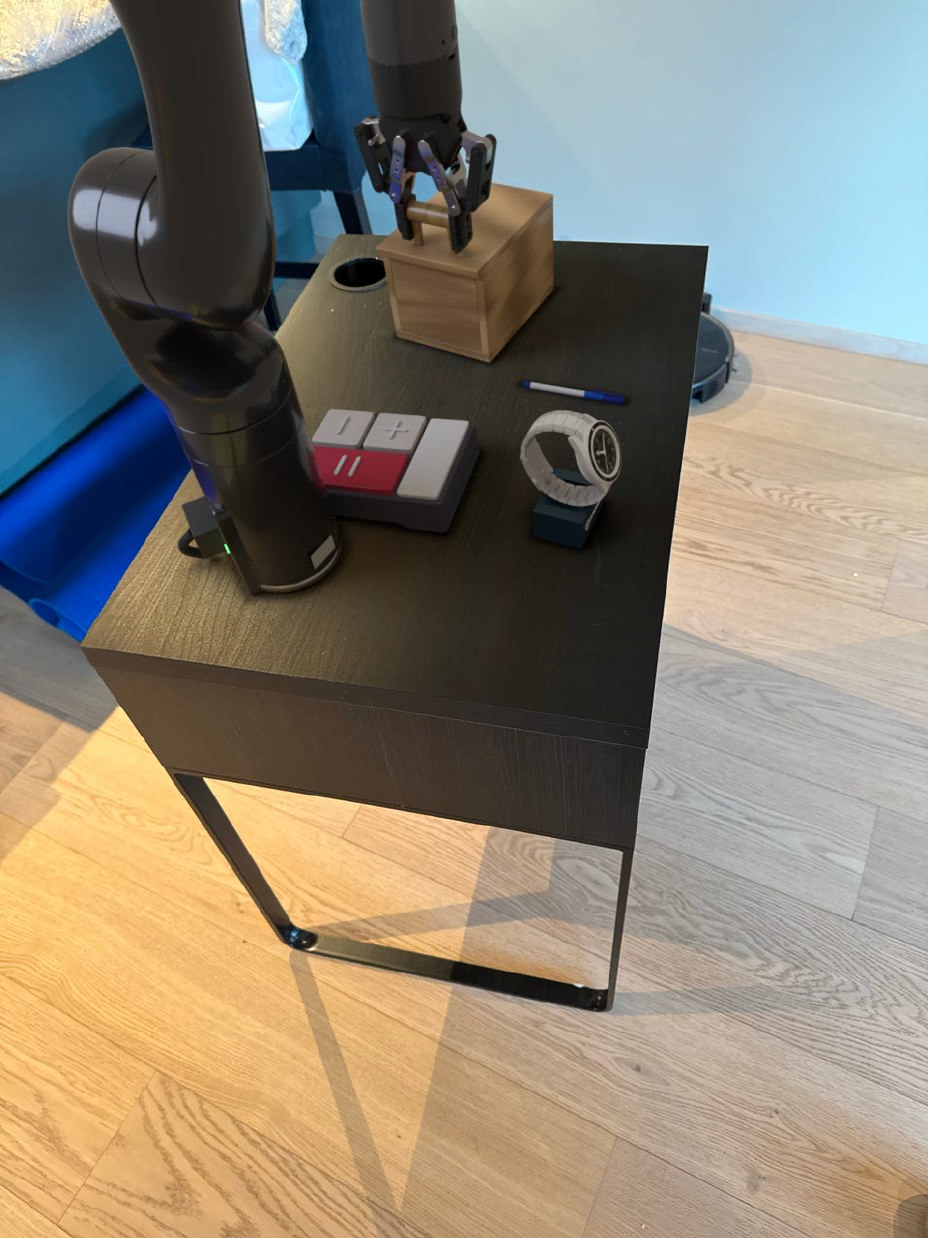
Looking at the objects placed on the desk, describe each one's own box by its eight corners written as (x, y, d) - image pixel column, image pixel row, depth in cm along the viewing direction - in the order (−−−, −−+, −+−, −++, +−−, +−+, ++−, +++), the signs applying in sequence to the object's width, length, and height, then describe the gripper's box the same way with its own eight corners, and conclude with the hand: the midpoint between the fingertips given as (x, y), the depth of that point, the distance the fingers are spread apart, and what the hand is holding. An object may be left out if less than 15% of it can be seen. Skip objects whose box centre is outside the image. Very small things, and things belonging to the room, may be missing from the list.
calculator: (326, 402, 80) (475, 413, 76) (337, 437, 84) (481, 450, 79) (279, 481, 74) (439, 498, 70) (293, 516, 77) (447, 534, 73)
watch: (603, 555, 70) (609, 455, 62) (514, 531, 73) (508, 432, 64) (624, 509, 73) (633, 408, 64) (538, 488, 76) (535, 388, 67)
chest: (489, 362, 88) (482, 274, 80) (396, 336, 92) (381, 250, 84) (553, 289, 95) (553, 201, 87) (464, 268, 99) (456, 183, 91)
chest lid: (478, 279, 79) (473, 227, 75) (376, 254, 84) (367, 205, 80) (553, 201, 87) (553, 151, 83) (456, 182, 91) (451, 134, 87)
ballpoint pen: (626, 400, 82) (626, 392, 82) (623, 406, 82) (624, 398, 81) (524, 385, 85) (523, 377, 85) (521, 390, 85) (521, 382, 84)
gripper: (314, 49, 69) (354, 247, 82) (464, 69, 64) (480, 277, 77) (366, 16, 73) (396, 210, 86) (511, 32, 67) (519, 237, 81)
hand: (436, 241), depth 82 cm, fingers closed on chest lid, 5 cm apart
